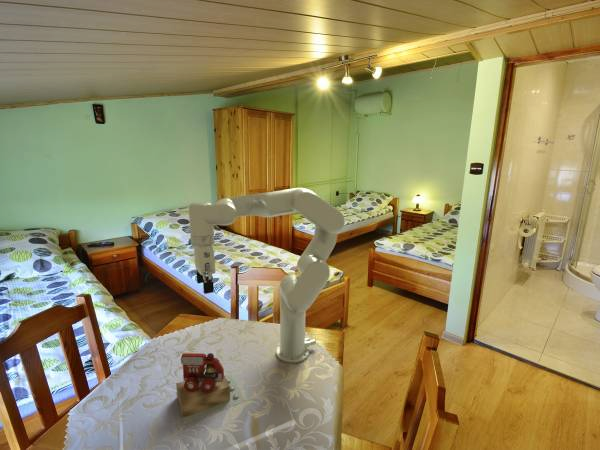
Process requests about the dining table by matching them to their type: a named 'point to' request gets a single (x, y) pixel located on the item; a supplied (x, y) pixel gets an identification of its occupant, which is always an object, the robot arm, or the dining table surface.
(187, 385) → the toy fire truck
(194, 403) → the base brick
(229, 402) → the build plate
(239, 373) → the dining table surface
